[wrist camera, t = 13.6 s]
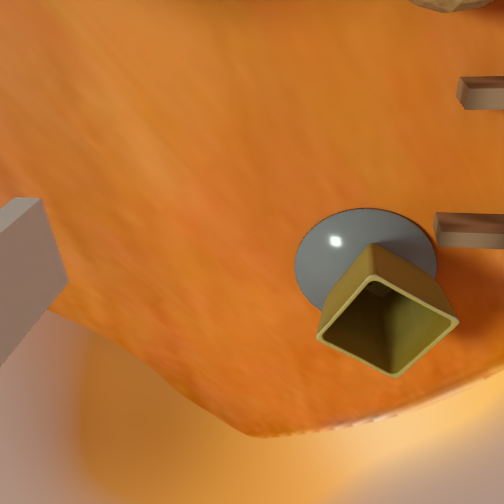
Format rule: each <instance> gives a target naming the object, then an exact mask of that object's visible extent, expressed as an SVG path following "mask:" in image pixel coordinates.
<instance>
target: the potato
mask: <svg viewBox="0 0 504 504" xmlns="http://www.w3.org/2000/svg"><path fill="white" fill-rule="evenodd" d="M408 1H410V2H412V3H414V4H415V5H417V6H420V7H424V8H427V9H431V10H434V11H438V12H441V13H448V12H455V11H461V10H468V9H474V8H481V7H484V6H486V5H488V4H489V3H491V2H493V1H495V0H408Z"/></svg>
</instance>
